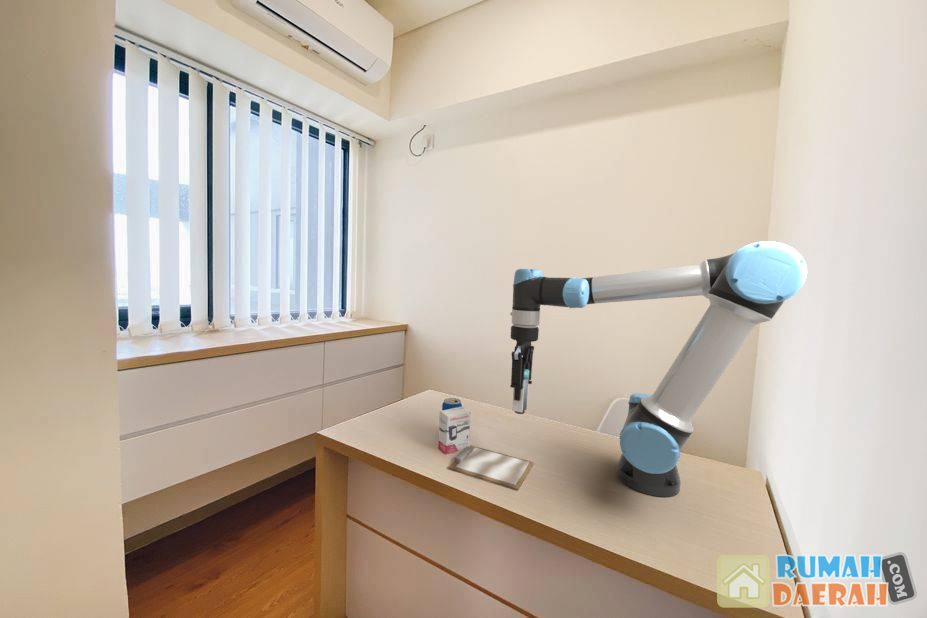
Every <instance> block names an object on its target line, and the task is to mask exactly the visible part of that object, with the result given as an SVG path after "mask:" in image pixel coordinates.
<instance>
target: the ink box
mask: <svg viewBox="0 0 927 618" xmlns="http://www.w3.org/2000/svg"><path fill="white" fill-rule="evenodd" d="M438 421H439V424H438V449H439V450H440V451H441V452H442V453H443V454H445V455H448V454H452V453H453V454H454V453H456V452H458V451H460V452H461V451H462V450H463V449H464V448H465V447H466V446H468V447H470V434H471V433H470V432H471V429H470V427H471V411H469V410H468V409H466V408H465V407H464V406H462V407H457V408H452V409H447V410H442V409H441V411H439V420H438Z"/></svg>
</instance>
